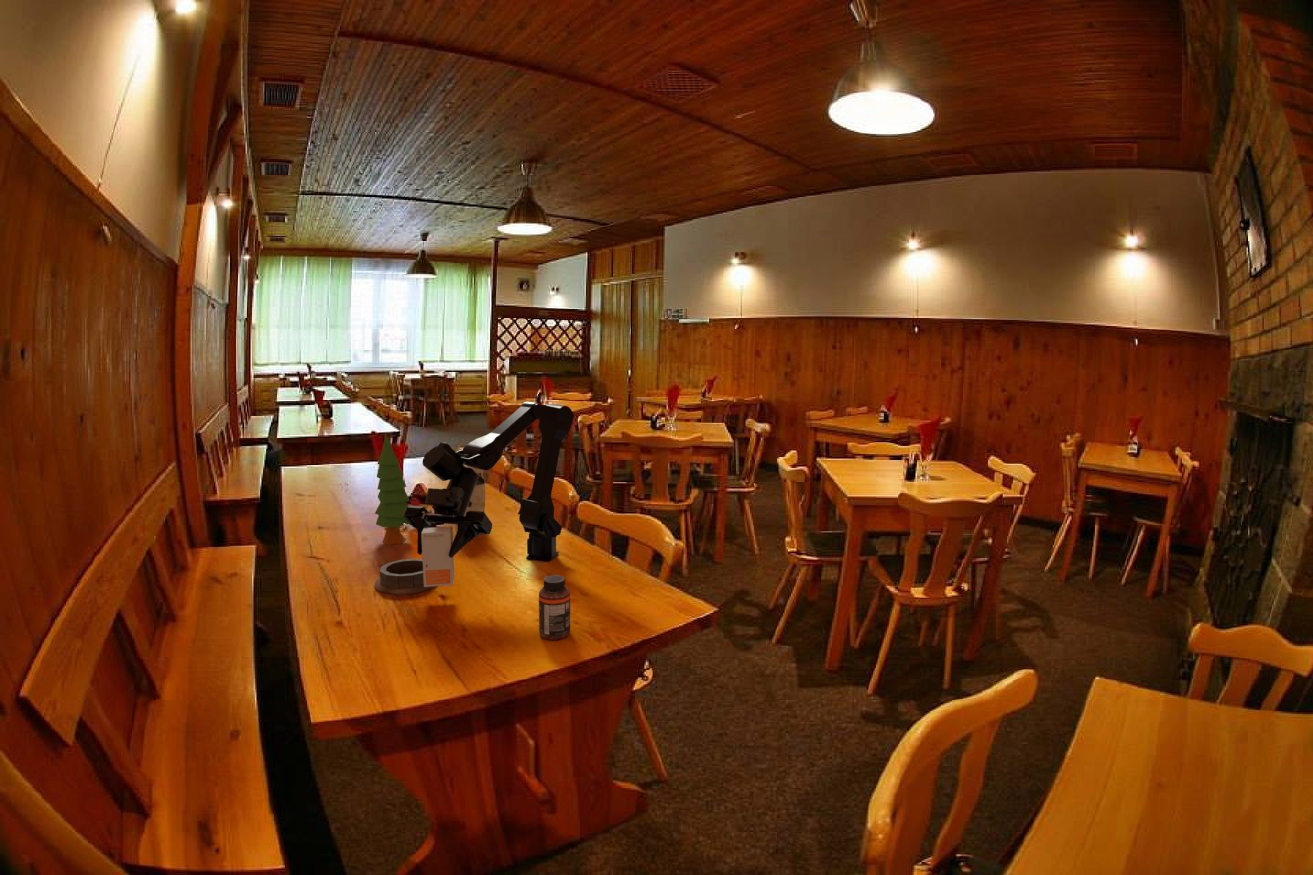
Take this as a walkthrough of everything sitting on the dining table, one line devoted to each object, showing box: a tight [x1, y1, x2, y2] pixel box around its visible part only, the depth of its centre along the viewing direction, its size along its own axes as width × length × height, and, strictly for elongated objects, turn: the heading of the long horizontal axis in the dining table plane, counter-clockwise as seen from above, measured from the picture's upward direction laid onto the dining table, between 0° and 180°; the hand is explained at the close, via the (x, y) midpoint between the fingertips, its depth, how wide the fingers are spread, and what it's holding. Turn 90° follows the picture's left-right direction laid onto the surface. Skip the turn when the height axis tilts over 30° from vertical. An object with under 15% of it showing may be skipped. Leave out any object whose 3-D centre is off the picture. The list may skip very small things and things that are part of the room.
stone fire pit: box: [374, 558, 436, 596], centre depth 158 cm, size 14×14×4 cm
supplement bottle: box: [538, 574, 571, 641], centre depth 133 cm, size 6×6×11 cm
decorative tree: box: [374, 432, 411, 546], centre depth 187 cm, size 10×9×30 cm
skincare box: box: [421, 525, 455, 587], centre depth 148 cm, size 6×4×12 cm
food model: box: [454, 464, 486, 533], centre depth 197 cm, size 10×7×20 cm
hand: (434, 555), depth 146 cm, fingers closed on skincare box, 7 cm apart
